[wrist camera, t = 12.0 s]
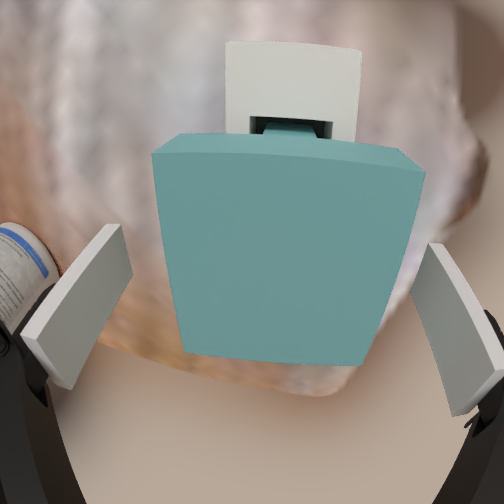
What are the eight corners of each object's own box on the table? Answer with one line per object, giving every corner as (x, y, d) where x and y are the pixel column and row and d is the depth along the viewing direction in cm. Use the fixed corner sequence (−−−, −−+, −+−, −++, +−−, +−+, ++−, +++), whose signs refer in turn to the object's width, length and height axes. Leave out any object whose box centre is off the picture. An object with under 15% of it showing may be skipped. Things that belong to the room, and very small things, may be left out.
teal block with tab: (215, 262, 22) (184, 352, 15) (208, 115, 16) (151, 153, 9) (344, 271, 21) (361, 365, 14) (369, 126, 15) (425, 172, 9)
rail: (238, 305, 24) (232, 334, 21) (236, 46, 14) (225, 41, 11) (316, 311, 23) (317, 341, 21) (349, 54, 13) (361, 50, 11)
